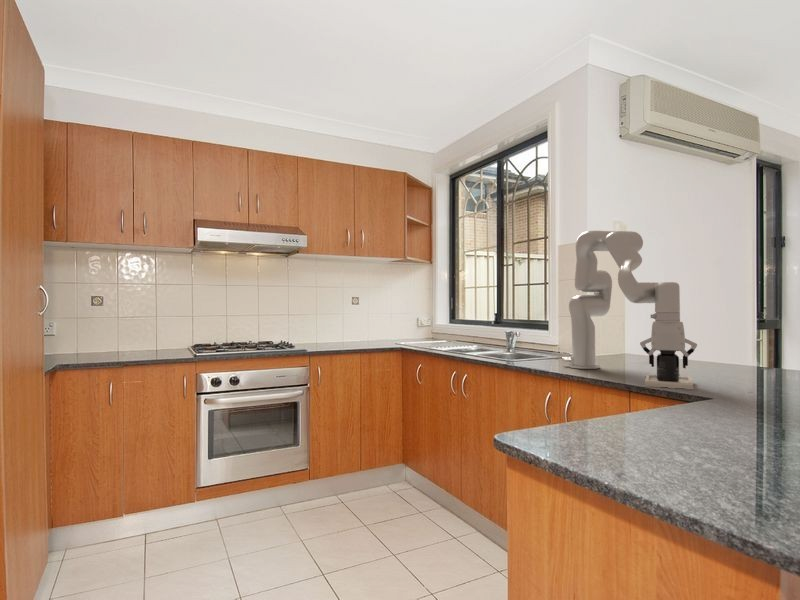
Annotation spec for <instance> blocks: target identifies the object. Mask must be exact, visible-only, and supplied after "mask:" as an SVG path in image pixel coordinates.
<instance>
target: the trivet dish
mask: <svg viewBox="0 0 800 600" xmlns="http://www.w3.org/2000/svg"><path fill="white" fill-rule="evenodd" d="M645 386H647V387H649V388H660V387H668V388H667V389H675V388H686V389H685V390H690V389H693V390H694V381H693V379H692V376H680V375H679V381H678V382H667V381H658V380H657V374H646V375H645V380H644V387H645Z"/></svg>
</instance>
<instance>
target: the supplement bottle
mask: <svg viewBox="0 0 800 600" xmlns="http://www.w3.org/2000/svg"><path fill="white" fill-rule="evenodd" d="M659 352H660V353H658V354H657V355H656V375H657V380H658V381H667V382H678V381H679V376H680V356H679V355H678V354H676V353H677V351H659Z"/></svg>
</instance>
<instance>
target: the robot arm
mask: <svg viewBox="0 0 800 600" xmlns="http://www.w3.org/2000/svg"><path fill="white" fill-rule="evenodd" d="M643 246H644V241H643V238H642V235H641V234H640V233H639V232H637V231H631V230H630V231H627V230H625V231H624V230H618V231H617V230H616V231H615V230H586V231H584V232H582V233H580V235H578V237H577V238H576V242H575V256H576V264H575V274H574V288H575V289H576V291H578V292H580V293H582V292H583V293H593V294H579V295H576V296H573V297H572V298H570V300H569V301H568V302H569V303H568V309H569V315H570V322H571V353H572V355H571V356H569V357H564V356H562V358H561V361H562V362H564V363H569V364H568V368H570V369H571V368H572V369H576V370H577V369H578V370H579V369H580V370H596V369H599V368H601V367H600V364H598V363H596V327H595V323H594V321H593V319H592V317H603V316H605V315H607V314H608V313H609V312H610V308H611V299H612V288H613V279H612V276H611V274H610V273H609V272H608V271H606V270H598V258H597V256H596V253H595V252H609V254H610V255H611V257H612V259H613V260H614V262H615V263H616V265H617V266H618V268H619V271H618V273H617V283H618V287H619V288H620V290H621V291H622V293H623V295H624V297H625V298H626V299H627V300H628V301H629V302H631V303H632V304H654V313H652V314H650V319H654V320H655V321H653V322H652V324H651V336H650V337H649V338H646V339H645V340H643V341H641V342H640V343H639V345H640V346H641V348H642V350H643V351H644V352H645V353H646V354H647V355H648V363H649V365H651V367H655V358H654V357H655V356H654V353H655V352H656V351H659V352H660V351H676V352H681V353H682V355H683V356H682V368H683V369H686V367H687V366H689V362H688V361H689V356H691V354H693V353H694V352H695V350H696V348H697V346H698V344H697V343H696V342H694V341H692V340H690V339H687V338H686V335H685V333H686V332H685V328H684V323H683V321H681V309H680V308H681V304H680V299H681V297H680V296H681V294H680V293H681V292H680V291H681V290H680V284H679V283H678V282H675V281H674V282H673V281H670V282H669V281H668V282H667V281H665V282H649V281H648V282H644V281H643V282H638V281H637V279H636V277H635V276H634V275H633V274H634V273H632V272H634V271H635V270H636V269H637V268H639V267H640V265H642V262H643V258H642V256H641V254H640V253H639V252H640V250H641V249H642V248H643ZM649 343H651V344H650V346H651V349H649V348H648V347H647V346H646V344H649ZM686 344H687V345H690V346H691V347H690V348H689V349H688V350H687V351H686Z"/></svg>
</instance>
